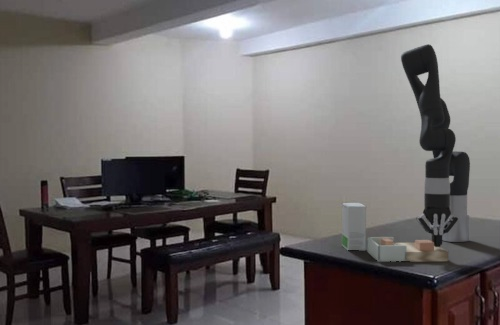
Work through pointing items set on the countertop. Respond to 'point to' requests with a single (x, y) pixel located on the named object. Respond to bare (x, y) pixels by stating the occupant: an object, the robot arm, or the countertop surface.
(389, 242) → the tile
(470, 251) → the countertop surface
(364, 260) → the countertop surface
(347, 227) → the skincare box
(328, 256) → the countertop surface
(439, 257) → the board
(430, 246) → the tile
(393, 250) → the box
